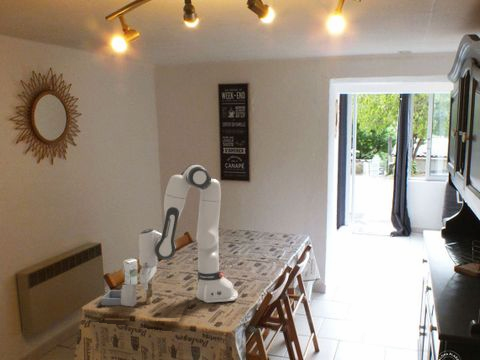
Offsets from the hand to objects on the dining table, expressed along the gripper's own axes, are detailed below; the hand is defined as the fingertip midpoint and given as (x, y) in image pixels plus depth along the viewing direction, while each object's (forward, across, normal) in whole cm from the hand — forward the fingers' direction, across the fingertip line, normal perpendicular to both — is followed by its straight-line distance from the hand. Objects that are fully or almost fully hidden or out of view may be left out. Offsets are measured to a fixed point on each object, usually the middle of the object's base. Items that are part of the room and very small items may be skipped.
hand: (148, 286), depth 220 cm
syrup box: (+8, +25, +17) cm, 32 cm away
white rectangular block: (+8, -4, +9) cm, 13 cm away
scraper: (+8, 0, -1) cm, 8 cm away
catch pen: (+8, 0, +18) cm, 20 cm away
